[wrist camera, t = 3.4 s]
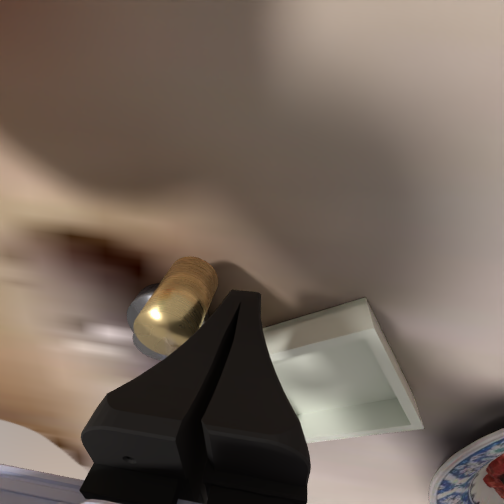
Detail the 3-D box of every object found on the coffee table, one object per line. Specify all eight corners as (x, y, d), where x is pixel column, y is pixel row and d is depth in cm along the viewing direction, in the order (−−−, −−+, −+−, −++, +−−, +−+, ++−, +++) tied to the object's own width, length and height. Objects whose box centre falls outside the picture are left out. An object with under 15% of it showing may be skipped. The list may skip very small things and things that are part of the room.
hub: (223, 328, 19) (219, 343, 18) (167, 346, 21) (160, 360, 20) (178, 272, 17) (170, 284, 16) (121, 297, 19) (111, 310, 18)
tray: (412, 393, 20) (424, 428, 18) (290, 414, 23) (289, 445, 21) (365, 297, 16) (373, 327, 14) (229, 338, 20) (221, 367, 18)
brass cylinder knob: (175, 352, 19) (147, 412, 16) (136, 332, 19) (98, 390, 15) (228, 273, 15) (206, 332, 12) (179, 246, 15) (141, 299, 11)
